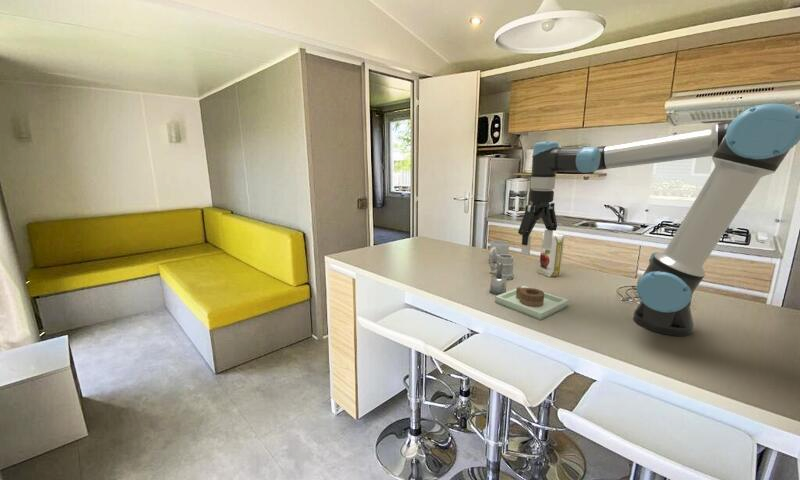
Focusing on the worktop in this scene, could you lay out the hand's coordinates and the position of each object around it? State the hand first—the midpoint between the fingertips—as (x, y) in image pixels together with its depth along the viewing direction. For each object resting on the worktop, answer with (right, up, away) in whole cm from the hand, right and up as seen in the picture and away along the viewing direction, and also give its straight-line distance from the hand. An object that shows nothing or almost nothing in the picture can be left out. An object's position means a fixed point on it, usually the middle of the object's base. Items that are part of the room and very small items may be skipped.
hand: (536, 251), depth 119 cm
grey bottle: (-9, -17, +16) cm, 25 cm away
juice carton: (+21, -12, +37) cm, 45 cm away
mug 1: (+2, -8, +57) cm, 57 cm away
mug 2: (-2, -13, +35) cm, 37 cm away
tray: (0, -19, +5) cm, 20 cm away
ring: (0, -19, +4) cm, 19 cm away
